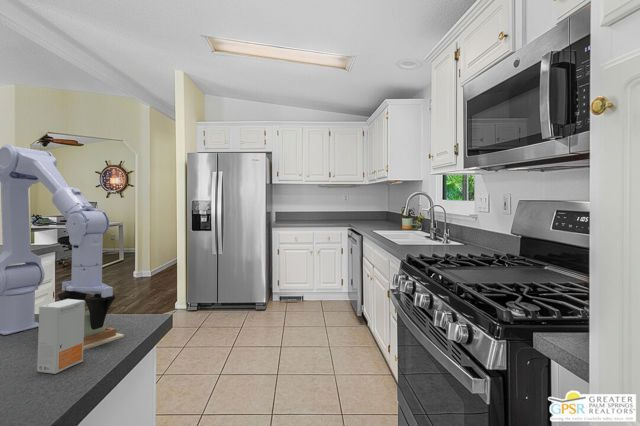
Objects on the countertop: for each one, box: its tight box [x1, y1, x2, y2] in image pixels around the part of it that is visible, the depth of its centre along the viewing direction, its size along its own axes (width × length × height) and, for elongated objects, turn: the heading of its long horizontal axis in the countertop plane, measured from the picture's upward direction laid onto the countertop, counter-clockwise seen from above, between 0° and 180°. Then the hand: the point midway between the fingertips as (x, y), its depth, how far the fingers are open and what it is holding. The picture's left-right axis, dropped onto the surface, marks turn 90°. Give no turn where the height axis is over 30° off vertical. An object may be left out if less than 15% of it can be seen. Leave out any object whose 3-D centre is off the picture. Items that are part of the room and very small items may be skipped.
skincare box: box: [36, 299, 86, 375], centre depth 67 cm, size 6×4×12 cm
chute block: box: [84, 309, 107, 337], centre depth 80 cm, size 4×6×6 cm, turn 155°
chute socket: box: [83, 326, 125, 352], centre depth 80 cm, size 10×12×2 cm
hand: (85, 325), depth 80 cm, fingers open, 7 cm apart
